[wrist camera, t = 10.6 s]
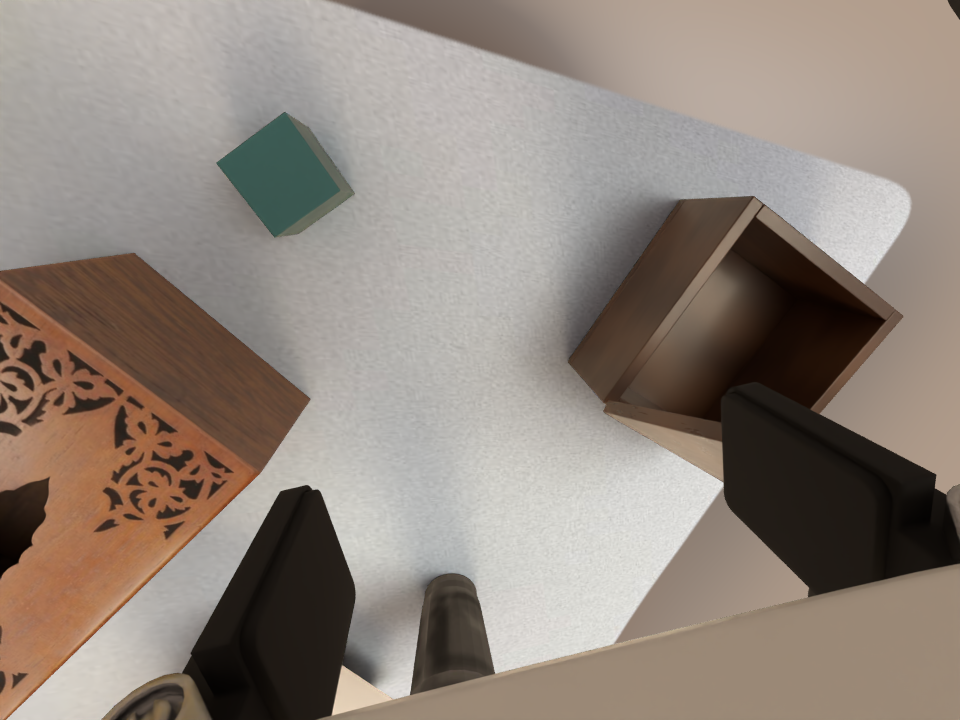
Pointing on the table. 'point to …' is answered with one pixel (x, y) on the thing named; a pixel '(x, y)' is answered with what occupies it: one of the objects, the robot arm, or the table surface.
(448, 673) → the beverage cup
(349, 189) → the block
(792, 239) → the chest
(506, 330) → the table surface
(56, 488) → the tissue box cover
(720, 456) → the lid
